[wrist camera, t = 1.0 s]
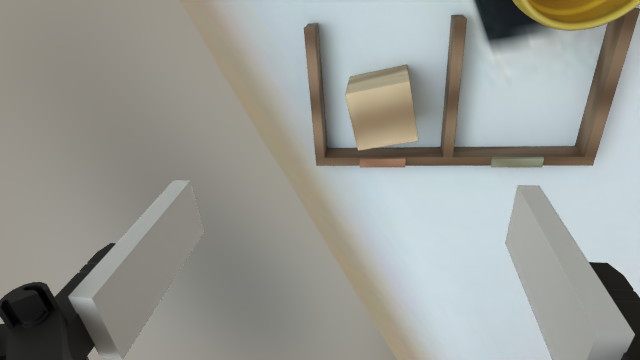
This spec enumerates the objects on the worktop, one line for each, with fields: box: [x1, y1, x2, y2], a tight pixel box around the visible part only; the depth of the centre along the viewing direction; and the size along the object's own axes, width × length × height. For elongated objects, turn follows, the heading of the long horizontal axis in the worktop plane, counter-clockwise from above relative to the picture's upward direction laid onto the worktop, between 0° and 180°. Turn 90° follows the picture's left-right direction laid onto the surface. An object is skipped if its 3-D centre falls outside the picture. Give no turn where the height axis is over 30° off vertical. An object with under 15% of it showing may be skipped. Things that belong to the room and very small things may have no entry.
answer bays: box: [304, 8, 640, 167], centre depth 40 cm, size 15×29×3 cm, turn 94°
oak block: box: [345, 65, 418, 151], centre depth 41 cm, size 6×6×6 cm
